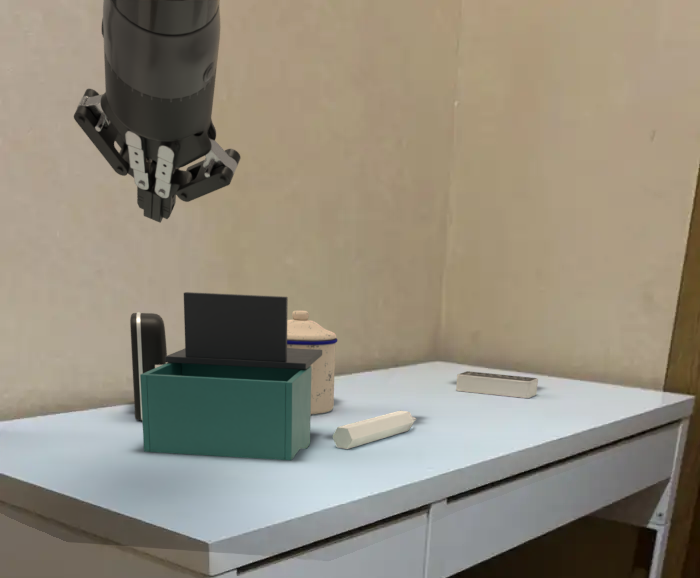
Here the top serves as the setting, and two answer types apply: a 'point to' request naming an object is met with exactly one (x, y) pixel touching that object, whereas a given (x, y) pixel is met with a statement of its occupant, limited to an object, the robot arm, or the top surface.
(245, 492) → the top surface
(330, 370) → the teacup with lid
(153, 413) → the storage box
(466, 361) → the top surface
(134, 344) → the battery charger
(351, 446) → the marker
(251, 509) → the top surface
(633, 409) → the top surface
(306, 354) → the box lid
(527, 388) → the multiport hub
